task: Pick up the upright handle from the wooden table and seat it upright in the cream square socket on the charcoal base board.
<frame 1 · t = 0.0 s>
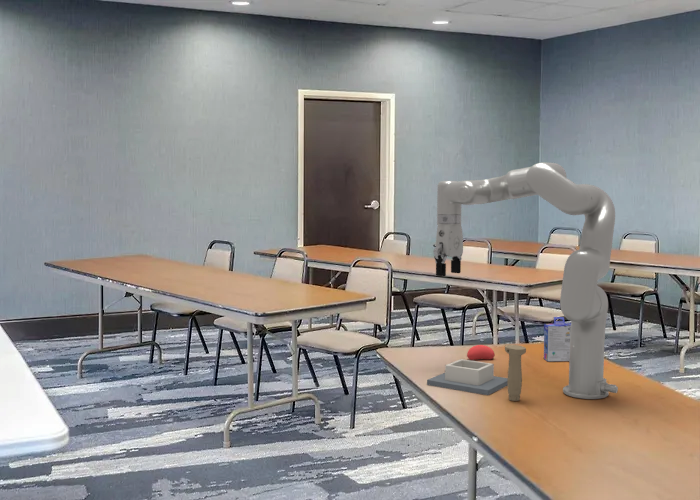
hand: (448, 274, 258), 31 cm above the table, fingers open, 9 cm apart
stress ball: (480, 360, 278), on the table
handle: (514, 400, 228), on the table
ink cartridge box: (559, 360, 277), on the table
socket: (469, 384, 245), on the table
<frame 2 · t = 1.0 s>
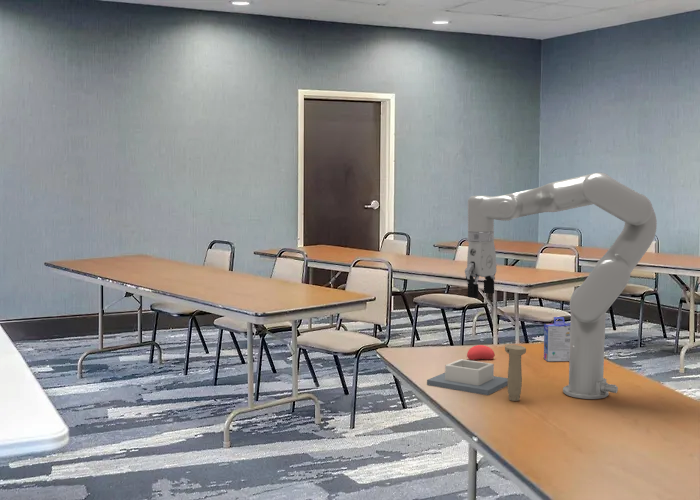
hand: (481, 295, 241), 27 cm above the table, fingers open, 9 cm apart
nothing on the table moved.
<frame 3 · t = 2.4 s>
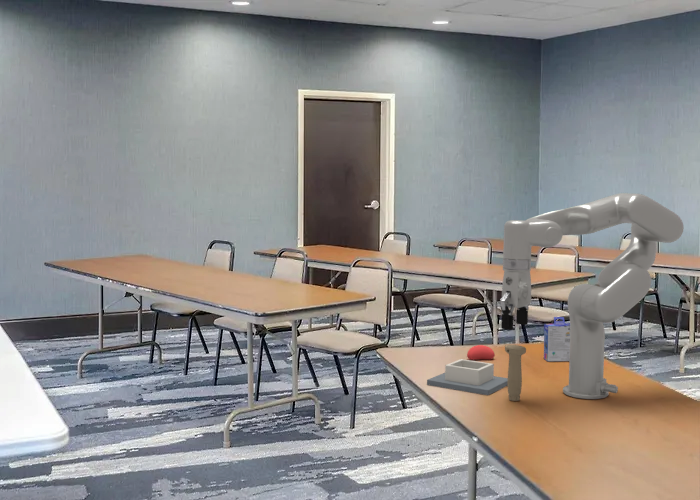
hand: (514, 326, 226), 21 cm above the table, fingers open, 9 cm apart
nothing on the table moved.
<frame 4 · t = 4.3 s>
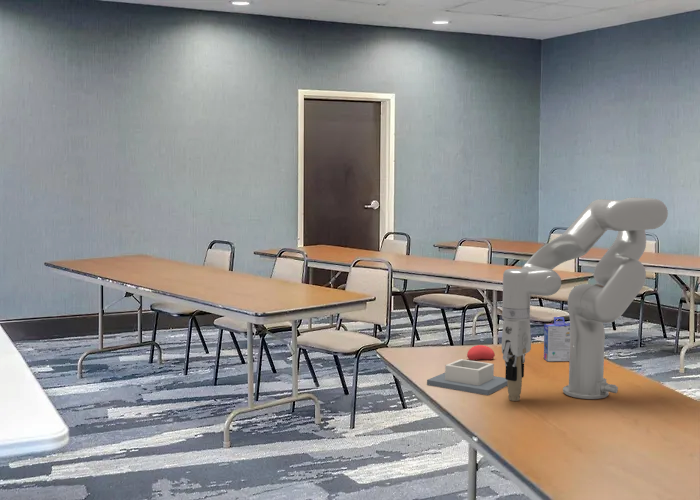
hand: (514, 377, 228), 6 cm above the table, fingers closed on handle, 3 cm apart
handle: (514, 400, 228), on the table, touching gripper
everything else where it was.
when the fingers open (9 cm above the table, at t = 10.3 s): handle drops 1 cm, resting on socket.
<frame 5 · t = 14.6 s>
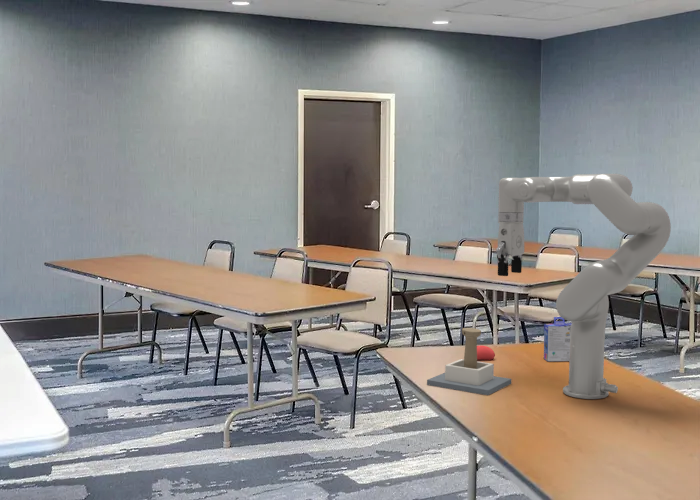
hand: (509, 274, 250), 32 cm above the table, fingers open, 9 cm apart
handle: (469, 379, 245), point 1 cm above the table, touching socket
everything else where it was.
at the end: handle 0.2 cm off-centre on the socket, point 1.3 cm above the socket's base; handle tilted 1°; the gripper is holding nothing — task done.
